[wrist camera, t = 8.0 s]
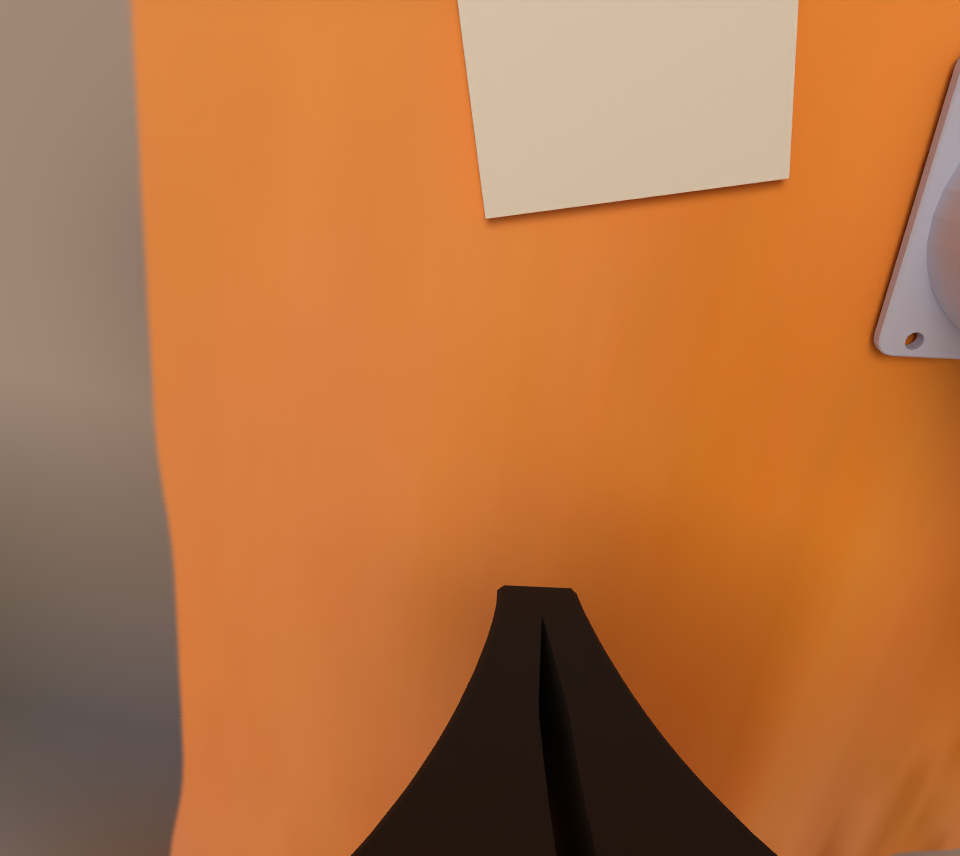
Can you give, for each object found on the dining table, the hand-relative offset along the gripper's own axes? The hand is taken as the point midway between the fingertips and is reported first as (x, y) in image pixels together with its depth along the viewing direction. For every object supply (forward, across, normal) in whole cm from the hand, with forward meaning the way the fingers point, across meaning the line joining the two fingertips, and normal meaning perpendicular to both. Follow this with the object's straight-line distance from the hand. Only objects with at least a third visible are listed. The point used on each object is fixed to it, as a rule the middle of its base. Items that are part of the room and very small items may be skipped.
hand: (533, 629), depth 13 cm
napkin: (+10, -2, -9) cm, 14 cm away
